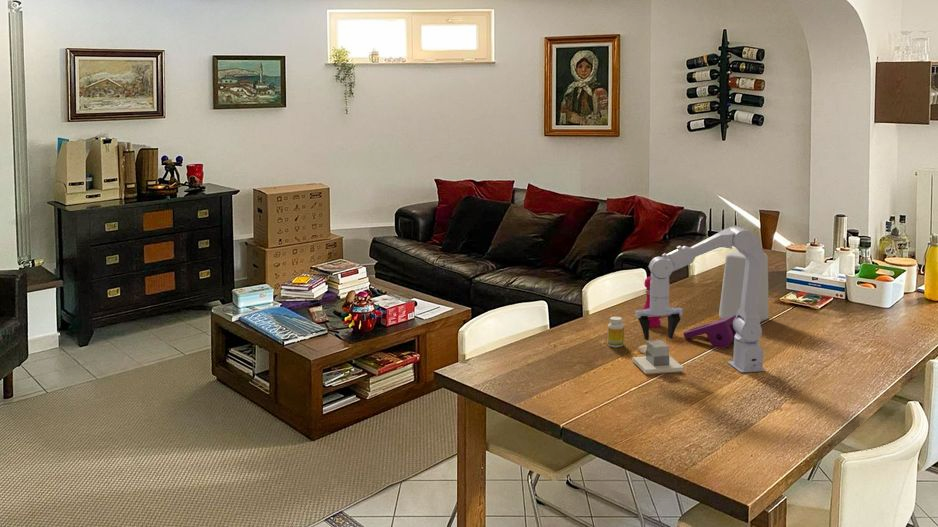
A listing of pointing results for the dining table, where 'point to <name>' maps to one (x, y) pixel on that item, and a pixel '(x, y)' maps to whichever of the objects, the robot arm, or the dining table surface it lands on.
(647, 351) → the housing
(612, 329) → the supplement bottle
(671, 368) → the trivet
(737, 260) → the plastic bottle
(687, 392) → the dining table surface
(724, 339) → the mounting bracket
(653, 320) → the pepper mill
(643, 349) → the metal coaster
